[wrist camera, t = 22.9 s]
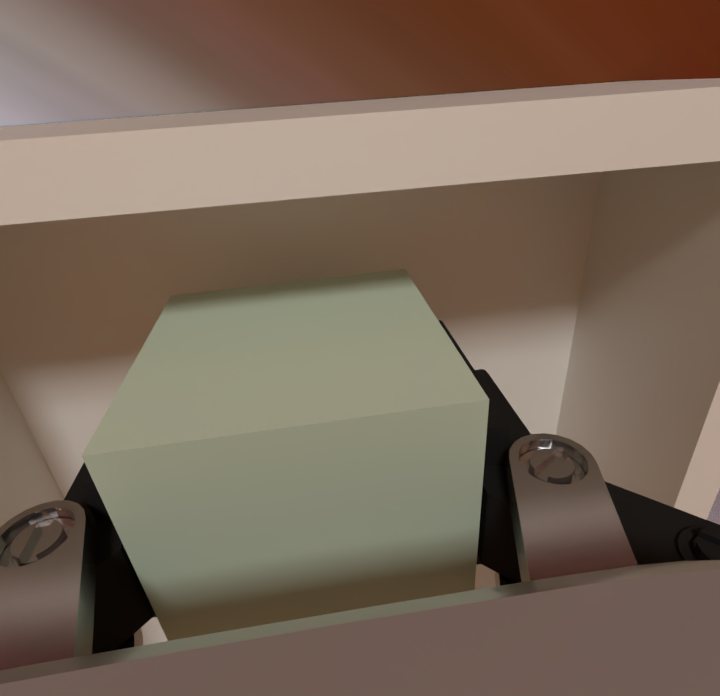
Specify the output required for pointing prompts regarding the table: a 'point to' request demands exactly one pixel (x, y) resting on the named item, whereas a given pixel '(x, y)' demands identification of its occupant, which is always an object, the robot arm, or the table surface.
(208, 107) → the table surface
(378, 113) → the tote
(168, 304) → the sage cube
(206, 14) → the table surface
